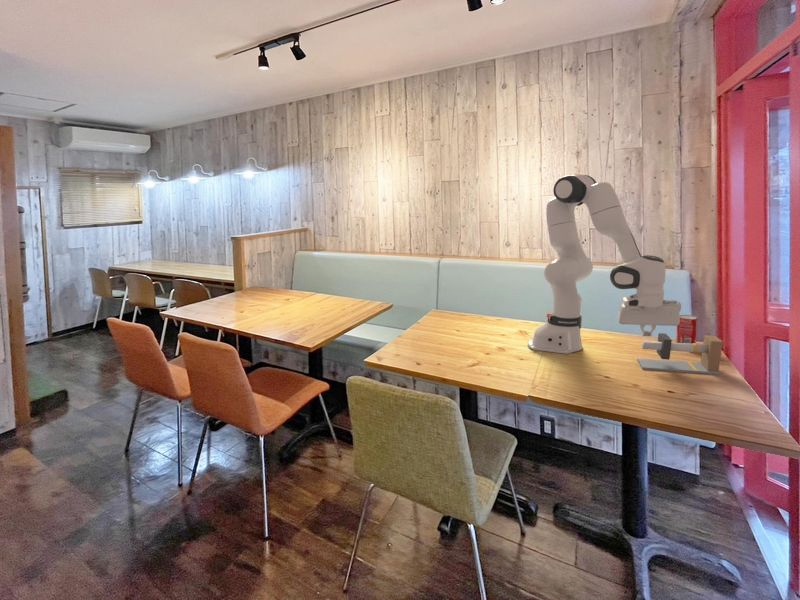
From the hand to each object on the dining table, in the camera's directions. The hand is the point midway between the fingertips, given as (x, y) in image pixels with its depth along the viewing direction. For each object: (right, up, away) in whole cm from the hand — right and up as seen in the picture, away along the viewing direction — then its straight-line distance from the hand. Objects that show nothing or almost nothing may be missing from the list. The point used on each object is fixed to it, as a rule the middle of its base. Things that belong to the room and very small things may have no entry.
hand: (646, 335), depth 167 cm
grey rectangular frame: (+6, -7, 0) cm, 10 cm away
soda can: (+27, -6, +20) cm, 35 cm away
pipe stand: (+11, -12, 0) cm, 16 cm away
